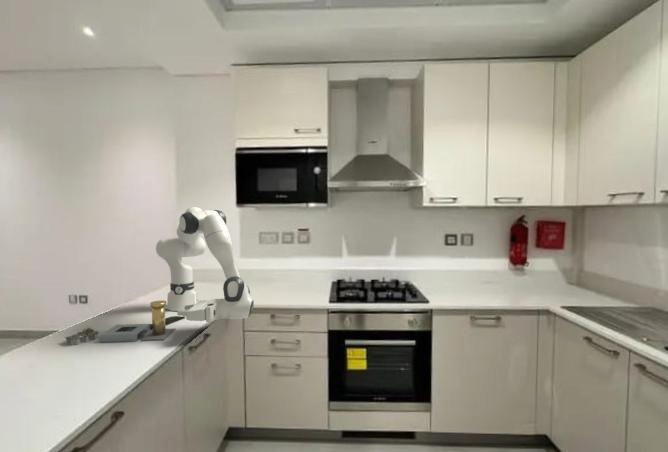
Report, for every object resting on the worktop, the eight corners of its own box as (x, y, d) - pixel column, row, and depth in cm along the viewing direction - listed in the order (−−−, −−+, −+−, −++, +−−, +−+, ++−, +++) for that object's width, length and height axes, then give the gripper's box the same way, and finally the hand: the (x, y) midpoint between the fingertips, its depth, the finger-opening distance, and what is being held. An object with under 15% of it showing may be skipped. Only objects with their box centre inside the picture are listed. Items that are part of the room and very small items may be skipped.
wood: (174, 317, 185) (173, 311, 185) (186, 318, 183) (186, 312, 183) (139, 330, 164) (138, 324, 164) (152, 332, 162) (152, 325, 162)
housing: (117, 331, 161) (117, 324, 161) (150, 330, 163) (150, 323, 163) (100, 342, 147) (100, 335, 147) (137, 341, 149) (136, 333, 149)
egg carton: (91, 336, 156) (91, 326, 156) (101, 338, 153) (101, 329, 153) (63, 343, 147) (62, 333, 147) (72, 346, 143) (72, 336, 143)
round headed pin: (154, 331, 159) (153, 300, 159) (169, 331, 160) (168, 300, 159) (148, 336, 153) (147, 304, 153) (163, 335, 154) (163, 303, 153)
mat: (154, 330, 163) (154, 329, 163) (175, 329, 164) (175, 328, 164) (141, 341, 149) (140, 339, 149) (164, 340, 150) (164, 338, 150)
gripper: (219, 296, 168) (188, 297, 167) (209, 307, 148) (173, 308, 147) (220, 310, 169) (188, 311, 167) (209, 323, 148) (173, 324, 147)
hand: (181, 310), depth 157 cm, fingers open, 8 cm apart
